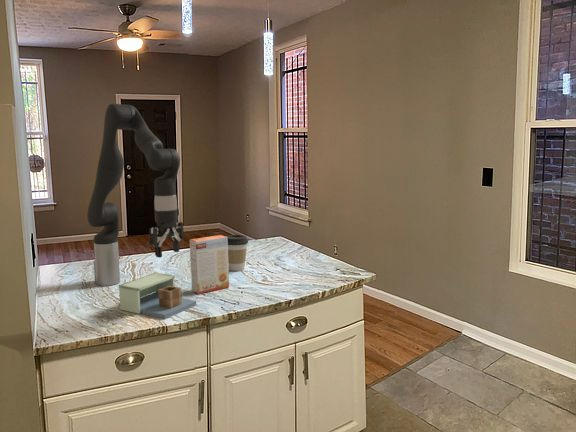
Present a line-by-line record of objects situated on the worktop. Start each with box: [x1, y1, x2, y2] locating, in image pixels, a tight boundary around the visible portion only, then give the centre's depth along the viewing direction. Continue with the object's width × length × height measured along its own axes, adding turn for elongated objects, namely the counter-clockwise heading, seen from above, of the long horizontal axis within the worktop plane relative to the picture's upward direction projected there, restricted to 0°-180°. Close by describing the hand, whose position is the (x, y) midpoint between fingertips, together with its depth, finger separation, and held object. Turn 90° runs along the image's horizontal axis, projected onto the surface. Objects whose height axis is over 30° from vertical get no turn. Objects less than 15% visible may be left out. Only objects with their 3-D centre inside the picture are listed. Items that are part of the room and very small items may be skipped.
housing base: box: [140, 292, 197, 320], centre depth 180 cm, size 20×16×6 cm
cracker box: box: [189, 234, 230, 295], centre depth 198 cm, size 14×6×21 cm, turn 127°
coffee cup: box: [226, 234, 249, 272], centre depth 228 cm, size 11×11×15 cm
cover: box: [118, 272, 176, 314], centre depth 182 cm, size 9×18×9 cm, turn 150°
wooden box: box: [158, 286, 182, 309], centre depth 177 cm, size 5×5×6 cm
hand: (167, 254), depth 174 cm, fingers open, 8 cm apart
